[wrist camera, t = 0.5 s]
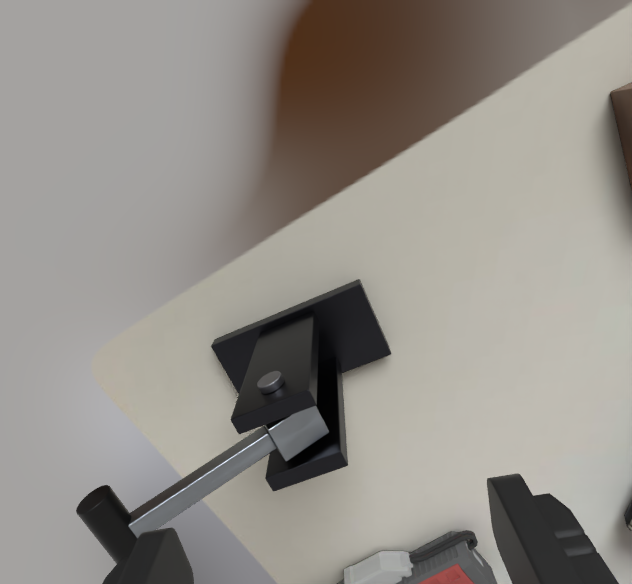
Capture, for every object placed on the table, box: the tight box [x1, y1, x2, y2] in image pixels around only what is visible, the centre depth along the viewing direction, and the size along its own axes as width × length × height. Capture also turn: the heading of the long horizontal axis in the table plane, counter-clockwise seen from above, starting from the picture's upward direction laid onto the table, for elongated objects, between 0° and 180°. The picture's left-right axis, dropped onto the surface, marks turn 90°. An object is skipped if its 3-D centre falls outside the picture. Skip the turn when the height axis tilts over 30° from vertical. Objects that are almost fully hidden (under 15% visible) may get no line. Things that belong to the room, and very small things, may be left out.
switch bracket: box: [211, 279, 391, 491], centre depth 29 cm, size 12×6×12 cm, turn 114°
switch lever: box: [76, 406, 329, 564], centre depth 23 cm, size 12×5×2 cm, turn 114°
